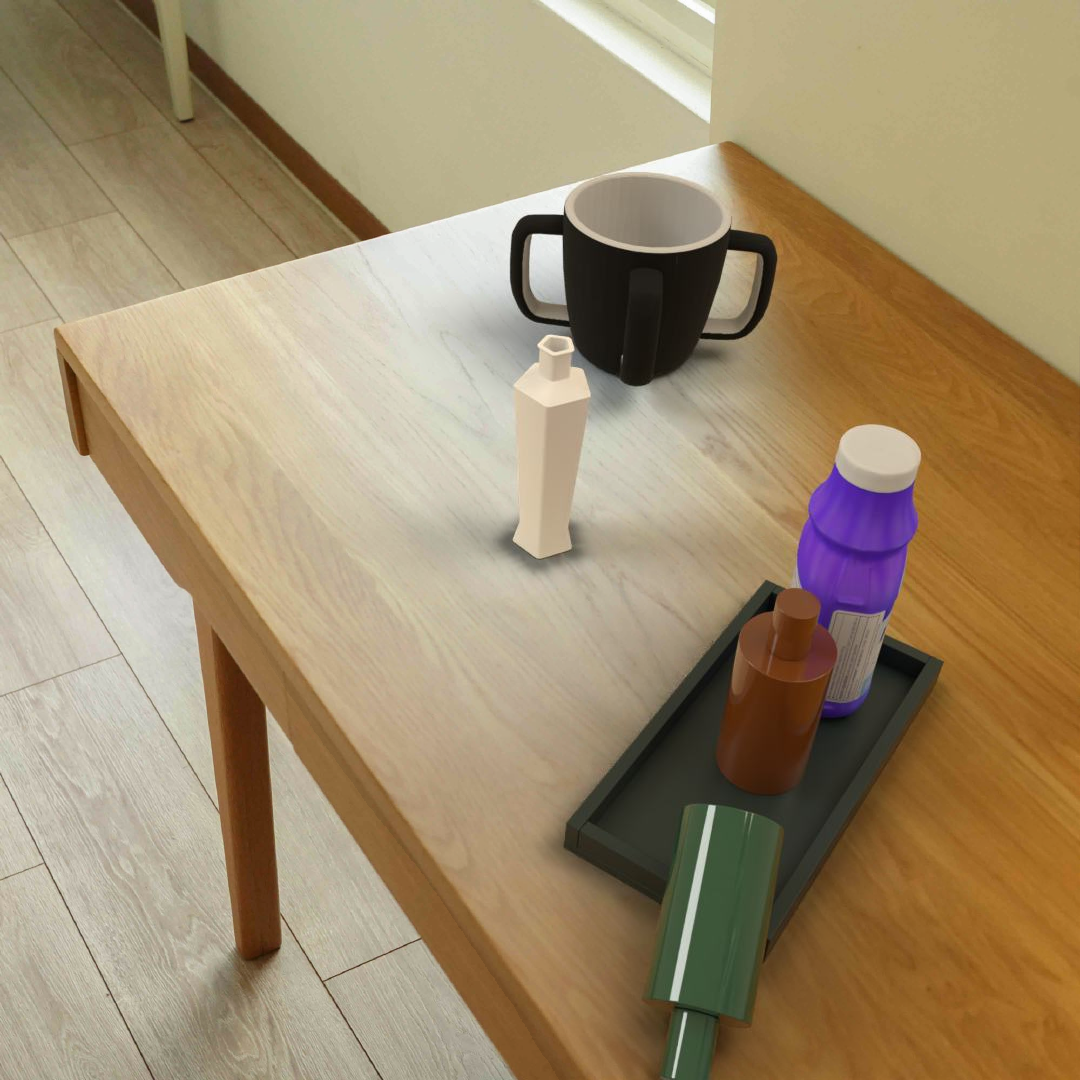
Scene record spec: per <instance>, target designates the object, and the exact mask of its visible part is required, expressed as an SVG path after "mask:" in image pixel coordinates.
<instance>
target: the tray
mask: <svg viewBox="0 0 1080 1080" xmlns="http://www.w3.org/2000/svg"><path fill="white" fill-rule="evenodd" d="M785 589H787V588H786V587H783V586H782V585H779V584H777V583H775V582H773V581H770V580H769V579H765V580H764V582H762V584H761V585H760V586H759V587H758V589H757V590H756V591H755V592H754V594H753V595H752V596H751V597H750V598H749V600H748V601H747V602H746V603H745V604H744V606H743V607H742V608H741V610H740V611H739V612H738V613H737V614H736V616H735V617H734V618H733V619H732V621H730V623H729V624H728V625H727V627H726V628H725V629H724V630H723V631H722V633H721V634H720V635H719V636H718V637H717V638H716V640H715V641H714V642H713V644H712V645H711V646H710V647H709V648H708V650H707V651H706V652H705V653H704V654H703V655H702V657H701V658H700V659H699V660H698V661H697V663H696V664H695V666H693V668H692V669H691V670H690V672H688V674H687V675H686V676H685V677H684V679H683V680H682V681H681V682H680V684H679V685H678V686H677V687H676V689H674V691H673V692H672V693H671V695H670V696H669V697H668V698H667V699H666V701H665V702H664V703H663V704H662V706H661V707H660V708H659V709H658V711H657V712H656V713H655V714H654V715H653V717H652V718H651V719H650V720H649V721H648V723H647V724H646V725H645V726H644V727H643V728H642V730H641V731H640V732H639V734H637V736H636V737H635V738H634V740H633V741H632V742H631V743H630V745H629V746H628V747H627V748H626V749H625V751H623V753H622V754H621V755H620V756H619V758H618V759H617V760H616V762H615V763H614V764H613V765H612V766H611V768H610V769H609V770H608V771H607V772H606V773H605V775H604V776H603V777H602V779H600V781H599V782H598V783H597V784H596V786H595V787H594V788H593V790H592V791H591V792H590V793H589V794H588V795H587V796H586V798H585V799H584V801H583V802H582V803H580V806H578V808H577V809H576V810H575V811H574V813H573V814H572V815H571V816H570V817H569V819H568V820H566V823H565V830H564V831H565V832H564V841H563V848H564V849H566V850H567V851H569V852H571V853H572V854H575V855H576V856H578V857H580V858H581V859H583V860H585V861H587V862H588V863H591V865H594V866H595V867H596V868H598V869H600V870H602V871H604V872H606V873H607V874H608V875H610V876H612V877H614V878H616V879H617V880H619V881H621V882H622V883H624V884H626V885H628V886H629V887H631V888H633V889H635V890H636V891H637V892H639V893H641V894H643V895H645V896H646V897H648V898H649V899H651V900H653V901H655V902H657V903H658V904H660V905H662V901H663V896H664V891H665V886H666V881H667V876H668V872H669V867H670V862H671V857H672V852H673V847H674V842H675V838H676V833H677V828H678V823H679V818H680V813H681V809H682V808H683V807H684V806H687V805H691V804H713V805H721V806H727V807H733V808H737V809H741V810H745V811H749V812H752V813H755V814H758V815H761V816H763V817H766V818H768V819H770V820H772V821H774V822H776V823H778V824H779V825H780V826H782V827H783V828H784V830H785V837H784V842H783V848H782V854H781V860H780V866H779V871H778V877H777V883H776V889H775V894H774V900H773V906H772V912H771V918H770V923H769V929H768V935H767V941H766V947H765V952H764V958H763V964H765V962H766V961H767V959H768V957H769V955H770V954H771V953H772V951H773V949H774V948H775V946H776V944H777V943H778V941H779V940H780V938H781V936H782V935H783V933H784V931H785V930H786V928H787V926H788V924H789V923H790V922H791V920H792V918H793V917H794V916H795V914H796V912H797V910H798V909H799V907H800V906H801V904H802V902H803V901H804V899H805V898H806V895H807V894H808V893H809V891H810V889H811V887H812V886H813V884H814V883H815V881H816V879H817V878H818V876H819V875H820V873H821V871H822V870H823V869H824V867H825V865H826V863H827V862H828V860H829V859H830V857H831V855H832V854H833V852H834V850H835V849H836V847H837V846H838V844H839V842H840V841H841V839H842V838H843V836H844V834H845V833H846V832H847V830H848V828H849V826H850V825H851V823H852V822H853V820H854V818H855V816H856V815H857V813H858V812H859V810H860V809H861V807H862V805H863V803H864V802H865V800H866V799H867V797H868V795H869V794H870V792H871V791H872V789H873V787H874V786H875V784H876V782H877V781H878V779H879V778H880V776H881V774H882V773H883V771H884V770H885V768H886V767H887V765H888V764H889V761H890V760H891V758H892V757H893V755H894V753H895V752H896V750H897V748H898V747H899V745H900V744H901V742H902V740H903V739H904V737H905V735H906V734H907V732H908V731H909V729H910V727H911V726H912V724H913V722H914V721H915V719H916V718H917V716H918V714H919V713H920V711H921V709H922V708H923V707H924V705H925V703H926V702H927V700H928V698H929V697H930V695H931V693H932V692H933V691H934V689H935V688H936V685H937V683H938V680H939V677H940V674H941V672H942V669H943V666H944V664H945V662H944V660H942V659H940V658H937V657H935V656H933V655H931V654H929V653H926V652H925V651H922V650H920V649H918V648H916V647H913V646H912V645H909V644H907V643H905V642H903V641H901V640H898V639H896V638H895V637H892V636H891V635H888V634H886V633H885V635H884V638H883V641H882V645H881V648H880V651H879V655H878V658H877V661H876V665H875V668H874V672H873V675H872V681H871V685H870V689H869V692H868V694H867V696H866V698H865V700H864V701H863V703H862V704H861V706H860V707H859V708H858V709H857V710H856V711H855V712H854V713H853V714H852V715H850V716H845V717H840V718H824V717H821V718H820V721H819V725H818V729H817V732H816V736H815V739H814V743H813V746H812V750H811V753H810V757H809V760H808V764H807V767H806V771H805V774H804V776H803V778H802V780H801V781H800V783H799V784H798V785H796V786H795V787H794V788H793V789H791V790H789V791H787V792H784V793H781V794H777V795H758V794H754V793H750V792H747V791H744V790H742V789H740V788H738V787H737V786H735V785H734V784H732V783H731V782H730V781H729V780H727V779H726V778H725V776H724V775H723V774H722V773H721V771H720V769H719V767H718V765H717V762H716V758H715V749H716V744H717V740H718V735H719V730H720V725H721V721H722V716H723V711H724V706H725V702H726V697H727V692H728V687H729V683H730V678H731V673H732V668H733V663H734V659H735V654H736V649H737V644H738V640H739V635H740V632H741V629H742V628H743V626H744V625H745V624H746V623H747V622H748V621H749V620H750V619H752V618H753V617H755V616H757V615H760V614H763V613H766V612H772V611H774V607H775V603H776V598H777V596H778V594H779V593H780V592H782V591H783V590H785Z"/></svg>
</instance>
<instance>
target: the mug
mask: <svg viewBox="0 0 1080 1080" xmlns="http://www.w3.org/2000/svg"><path fill="white" fill-rule="evenodd" d="M732 222H733V216H732V213H731V210H730V208H729V206H728V204H727V203H726V202H725V201H724V200H723V199H722V198H721V197H720V196H719V195H718V194H717V193H715V192H713V191H712V190H710V189H709V188H707V187H705V186H703V185H701V184H699V183H696V182H694V181H692V180H688V179H685V178H682V177H679V176H675V175H669V174H666V173H658V172H650V171H624V172H615V173H610V174H609V173H608V174H604V175H600V176H596V177H593V178H591V179H588V180H586V181H584V182H582V183H581V184H579V185H577V186H576V187H575V188H573V189H572V190H571V191H570V192H569V194H568V195H567V196H566V199H565V201H564V205H563V214H556V213H554V214H553V213H548V214H547V213H544V214H543V213H542V214H541V213H540V214H539V213H537V214H526V215H524V216H522V217H521V218H519V220H517V222H516V224H515V226H514V227H513V229H512V232H511V237H510V251H509V252H510V253H509V284H510V288H511V294H512V296H513V299H514V301H515V303H516V305H517V307H518V309H519V311H520V313H521V314H522V315H523V316H524V317H525V318H527V319H528V320H530V321H532V322H534V323H537V324H543V325H548V326H557V327H564V328H570V329H569V330H570V333H571V336H572V340H573V342H574V344H575V348H576V350H577V351H578V352H579V353H580V355H581V356H582V357H583V358H584V359H585V360H586V361H587V362H589V363H590V364H592V365H593V366H595V367H596V368H599V369H602V370H603V371H606V372H609V373H612V374H616V375H619V380H620V381H621V382H622V383H623V384H625V385H627V386H631V387H645V386H647V385H649V384H650V383H651V382H652V380H653V377H654V376H659V375H664V374H667V373H669V372H672V371H674V370H676V369H678V368H679V367H681V366H683V364H685V362H687V361H688V359H689V358H690V357H691V356H692V354H693V352H694V350H695V348H696V347H697V345H698V343H699V341H700V340H709V341H710V340H713V341H736V340H740V339H743V338H745V337H747V336H748V335H750V334H751V333H753V331H754V330H755V329H756V327H757V326H758V325H759V323H760V322H761V321H762V319H763V318H764V317H765V314H766V312H767V309H768V307H769V304H770V301H771V296H772V292H773V291H772V290H773V287H774V283H775V278H776V272H777V266H778V265H777V264H778V252H777V248H776V246H775V243H774V242H773V240H772V238H771V237H769V236H767V235H766V234H762V233H757V232H753V231H746V230H739V229H732ZM533 235H546V236H561V237H562V238H561V239H562V272H563V284H564V295H565V304H558V303H550V302H545V301H540V300H538V299H537V297H536V296H535V294H534V292H533V291H532V288H531V282H530V255H531V244H532V239H533V238H532V237H533ZM728 251H733V252H745V253H752V254H756V262H755V263H756V264H755V269H754V270H755V271H754V277H753V282H752V287H751V291H750V295H749V298H748V301H747V304H746V305H745V307H744V309H743V310H742V311H741V313H740V314H738V315H737V316H736V317H734V318H720V317H719V318H718V317H717V318H716V317H709V315H710V314H711V313H710V312H711V310H712V307H713V304H714V301H715V298H716V294H717V292H718V289H719V287H720V282H721V279H722V275H723V270H724V266H725V263H726V258H727V254H728Z"/></svg>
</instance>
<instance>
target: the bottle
mask: <svg viewBox="0 0 1080 1080" xmlns="http://www.w3.org/2000/svg"><path fill="white" fill-rule="evenodd" d="M921 460H922V453H921V449H920V447H919V445H918V444H917V442H916V441H915V440H914V439H913V438H912V437H910V436H909V435H908V434H906V432H903V431H901V430H900V429H897V428H894V427H891V426H888V425H882V424H875V423H873V424H862V425H857V426H854V427H852V428H849V429H848V430H847V431H846V432H845V433H843V435H842V437H841V438H840V441H839V445H838V449H837V451H836V454H835V458H834V464H833V466H832V468H831V472H830V474H829V476H828V477H827V479H825V480H824V481H823V482H821V483H820V484H819V485H818V486H817V488H816V489H815V490H814V491H813V492H812V494H811V496H810V498H809V502H808V505H807V507H808V509H807V511H808V515H809V516H808V518H807V519H806V522H805V523H804V525H803V528H802V530H801V532H800V533H801V534H800V537H799V541H798V546H797V551H796V552H797V554H796V560H795V565H794V569H793V573H792V577H791V583H790V584H789V585H790V586H789V588H801V589H804V590H807V591H809V592H811V593H813V594H814V595H815V596H816V597H817V598H818V599H819V601H820V603H821V610H820V614H819V618H818V623H819V624H821V625H822V626H823V627H824V628H825V629H826V630H827V631H828V632H829V633H830V634H831V636H832V637H833V639H834V641H835V643H836V646H837V650H838V657H837V661H836V665H835V669H834V672H833V676H832V679H831V683H830V686H829V690H828V693H827V697H826V700H825V704H824V707H823V711H822V714H821V717H824V718H840V717H845V716H850V715H852V714H853V713H854V712H855V711H856V710H857V709H858V708H859V707H860V706H861V704H862V703H863V701H864V700H865V698H866V696H867V694H868V692H869V689H870V685H871V681H872V675H873V672H874V668H875V665H876V661H877V658H878V655H879V651H880V648H881V645H882V641H883V638H884V635H885V634H886V631H887V628H888V625H889V622H890V619H891V615H892V612H893V609H894V605H895V602H896V600H897V599H898V596H899V593H900V592H901V589H902V586H903V582H904V577H905V573H906V565H907V558H908V546H909V543H910V542H911V541H912V540H913V538H914V536H915V535H916V534H917V531H918V527H919V516H918V512H917V509H916V507H915V503H914V486H915V482H916V478H917V475H918V470H919V468H920V465H921Z"/></svg>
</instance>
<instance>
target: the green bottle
mask: <svg viewBox="0 0 1080 1080" xmlns="http://www.w3.org/2000/svg"><path fill="white" fill-rule="evenodd" d="M784 837H785V830H784V828H783V827H782V826H780V825H779V824H778V823H776V822H774V821H772V820H770V819H768V818H766V817H763V816H761V815H758V814H755V813H752V812H749V811H745V810H741V809H737V808H733V807H727V806H721V805H713V804H691V805H687V806H684V807H683V808H682V809H681V813H680V818H679V823H678V828H677V833H676V838H675V842H674V847H673V852H672V857H671V862H670V867H669V872H668V876H667V881H666V886H665V891H664V896H663V901H662V904H661V905H660V911H659V914H658V915H659V916H658V920H657V925H656V930H655V934H654V939H653V945H652V949H651V954H650V959H649V964H648V970H647V975H646V977H645V983H644V988H643V993H642V997H641V1000H642V1002H643V1003H644V1004H645V1005H648V1006H650V1007H652V1008H655V1009H657V1010H659V1011H663V1012H665V1013H669V1014H670V1017H669V1022H668V1026H667V1033H666V1038H665V1042H664V1043H665V1044H664V1048H663V1053H662V1060H661V1064H660V1069H659V1073H658V1078H659V1079H661V1080H710V1079H711V1074H712V1069H713V1064H714V1058H715V1053H716V1047H717V1041H718V1036H719V1032H720V1031H719V1030H720V1027H726V1028H734V1029H743V1030H744V1029H751V1028H752V1027H753V1021H754V1016H755V1010H756V1004H757V999H758V998H757V997H758V992H759V986H760V982H761V981H760V980H761V975H762V969H763V964H764V963H763V958H764V952H765V947H766V941H767V935H768V929H769V923H770V918H771V912H772V906H773V900H774V894H775V889H776V883H777V877H778V871H779V866H780V860H781V854H782V848H783V842H784Z"/></svg>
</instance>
